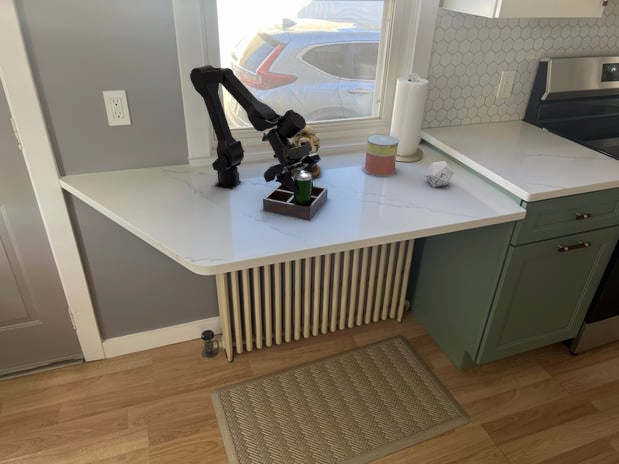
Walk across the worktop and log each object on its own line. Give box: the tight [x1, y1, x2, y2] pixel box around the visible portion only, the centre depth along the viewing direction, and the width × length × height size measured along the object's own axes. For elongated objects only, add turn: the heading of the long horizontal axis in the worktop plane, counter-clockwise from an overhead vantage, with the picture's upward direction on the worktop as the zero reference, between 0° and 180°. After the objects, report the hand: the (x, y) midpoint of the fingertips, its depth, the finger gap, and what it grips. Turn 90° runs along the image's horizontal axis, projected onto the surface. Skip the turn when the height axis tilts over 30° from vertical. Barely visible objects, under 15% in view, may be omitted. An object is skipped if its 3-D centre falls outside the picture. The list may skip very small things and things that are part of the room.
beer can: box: [293, 171, 313, 207], centre depth 141 cm, size 5×5×12 cm
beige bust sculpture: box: [290, 124, 321, 180], centre depth 168 cm, size 18×12×17 cm, turn 18°
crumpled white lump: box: [424, 160, 455, 188], centre depth 162 cm, size 8×9×10 cm
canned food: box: [364, 134, 400, 177], centre depth 171 cm, size 11×11×12 cm
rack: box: [262, 183, 329, 221], centre depth 147 cm, size 16×16×4 cm
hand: (305, 191), depth 140 cm, fingers closed on beer can, 5 cm apart
